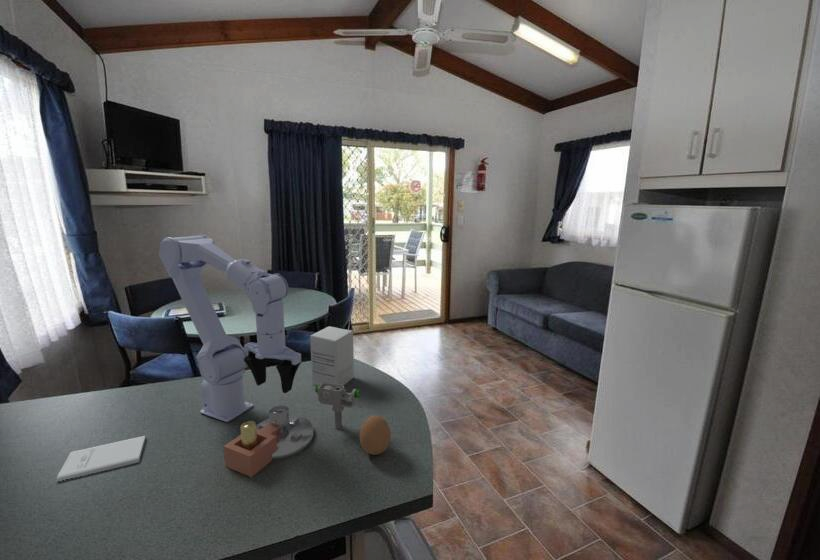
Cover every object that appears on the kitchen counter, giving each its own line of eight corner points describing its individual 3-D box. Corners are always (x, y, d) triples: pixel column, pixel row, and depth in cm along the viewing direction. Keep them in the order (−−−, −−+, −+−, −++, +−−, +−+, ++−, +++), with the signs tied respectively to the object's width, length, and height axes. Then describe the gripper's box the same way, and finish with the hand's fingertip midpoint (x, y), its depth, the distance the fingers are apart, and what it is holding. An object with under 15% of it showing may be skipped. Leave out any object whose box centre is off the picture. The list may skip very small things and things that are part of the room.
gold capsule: (239, 457, 73) (237, 426, 72) (252, 450, 76) (249, 419, 74) (248, 463, 72) (246, 431, 70) (261, 455, 74) (259, 423, 73)
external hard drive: (140, 465, 73) (57, 485, 68) (146, 441, 80) (72, 457, 75) (139, 457, 73) (55, 477, 67) (145, 434, 80) (71, 450, 74)
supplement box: (329, 371, 113) (328, 325, 110) (354, 377, 110) (354, 330, 107) (310, 384, 105) (309, 335, 102) (337, 391, 102) (336, 340, 99)
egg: (383, 465, 74) (383, 429, 72) (354, 458, 76) (354, 422, 74) (394, 446, 80) (395, 411, 78) (367, 439, 82) (367, 405, 80)
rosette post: (230, 448, 78) (228, 419, 76) (278, 414, 90) (277, 388, 89) (282, 468, 72) (281, 437, 71) (325, 429, 85) (325, 402, 84)
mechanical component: (356, 433, 84) (356, 393, 82) (314, 427, 86) (313, 387, 84) (361, 426, 86) (361, 387, 84) (320, 420, 88) (319, 381, 86)
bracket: (225, 466, 72) (223, 446, 72) (263, 437, 81) (262, 419, 80) (251, 477, 70) (250, 456, 69) (288, 446, 79) (287, 427, 78)
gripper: (231, 330, 80) (236, 388, 83) (283, 342, 74) (286, 403, 77) (256, 321, 86) (260, 374, 89) (306, 331, 81) (308, 388, 84)
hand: (274, 387), depth 84 cm, fingers open, 7 cm apart
